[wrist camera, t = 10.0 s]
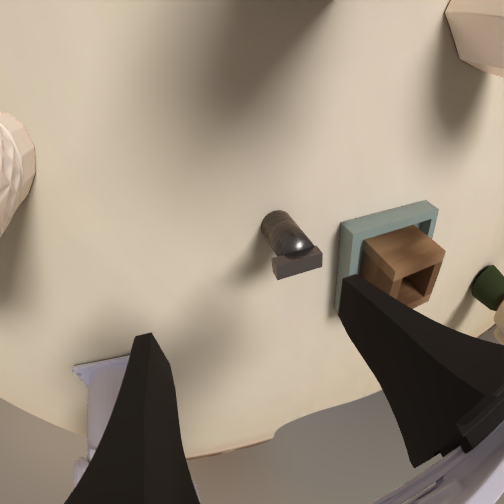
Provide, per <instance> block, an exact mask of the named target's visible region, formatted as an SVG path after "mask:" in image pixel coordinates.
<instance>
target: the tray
mask: <svg viewBox="0 0 504 504" xmlns="http://www.w3.org/2000/svg"><path fill="white" fill-rule="evenodd" d="M438 210H439V209H438V208H436V207H435V206H433V205H432V204H431V203H429V202H428V201H426V200H425V201H421V202H417V203H413V204H409V205H405V206H401V207H398V208H394V209H390V210H386V211H382V212H378V213H374V214H371V215H367V216H363V217H359V218H355V219H352V220H348V221H344V222H341V229H340V246H339V261H338V274H337V285H336V295H335V305H334V308H335V309H336V311H337V312H338V310H339V303H340V295H341V287H342V279H343V278H345V277H348V276H351V275H354V274H357V275H359V271H360V264H361V257H362V249H363V241H364V239H368V238H371V237H374V236H378V235H381V234H384V233H387V232H391V231H394V230H397V229H401V228H404V227H407V226H410V225H415V226H416V227H417V228H419V229H420V230H421V231H422V232H424V233H425V234H426V235H427V236H428V237H430V238H431V239H432V237H433V233H434V229H435V224H436V220H437V215H438Z"/></svg>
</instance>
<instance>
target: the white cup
mask: <svg viewBox="0 0 504 504" xmlns="http://www.w3.org/2000/svg"><path fill="white" fill-rule="evenodd" d="M35 172H36V170H35V152H34V145H33V143H32V141H31V139H30V136H29V134H28V132H27V129H26V127H25V126H24V125H23V124H22V123H21V122H20V121H19V120H17V119H16V118H15V117H14V116H13V115H12V114H10V113H7V112H0V238H1V236H2V234H3V233H4V231H5V229H6V228H7V226H8V224H9V223H10V221H11V219H12V217H13V215H14V213H15V211H16V210H17V208H18V207H19V205H20V204H21V203H22V202H23V200H24V199H25V198H26V196H27V195H28V194H29V191H30V188H31V185H32V181H33V178H34V175H35Z"/></svg>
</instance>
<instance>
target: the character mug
mask: <svg viewBox="0 0 504 504" xmlns="http://www.w3.org/2000/svg"><path fill="white" fill-rule="evenodd" d="M472 295H473V296H474V297H475V298H476V299H478V300H479V301H480V302H481V303H483V304H484V305H485V306H487V307H488V308H489V309H490V310H493V311H496V314H495V316H494V321H495V323H496V325H497V326H498V327H497V328H496V330H495V331H494V336H495V337H496V338H497V339H498V341H499V342H500V343H501V344H502V345H504V338H503V337H502V336H501V335H500V331H501V330H502V332H503V333H504V276H503V275H502V274H501V272H500V271H499V270H498V269H497V268H496V267H495V266H494V265H491V266H489V267H488V268H487V269H486V270H484V271H483V272H482V273H481V275H480V276H479V277H478V278H477V280H476V282H475V283H474V285H473V289H472Z"/></svg>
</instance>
